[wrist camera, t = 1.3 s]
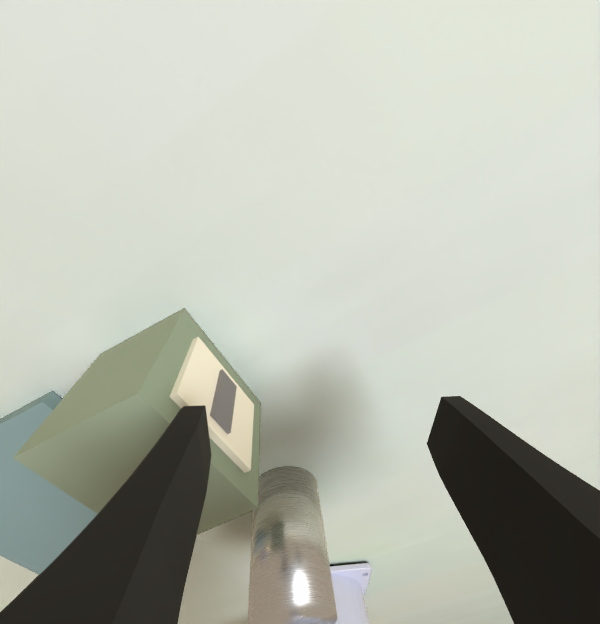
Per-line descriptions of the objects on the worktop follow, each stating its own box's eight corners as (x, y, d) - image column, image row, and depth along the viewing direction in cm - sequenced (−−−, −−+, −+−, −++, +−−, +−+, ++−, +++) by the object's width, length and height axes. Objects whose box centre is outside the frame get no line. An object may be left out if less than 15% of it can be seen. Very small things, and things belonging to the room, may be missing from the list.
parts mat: (57, 567, 23) (50, 580, 22) (-112, 479, 18) (-128, 492, 17) (193, 506, 21) (190, 518, 21) (52, 390, 16) (42, 401, 15)
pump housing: (187, 437, 18) (155, 552, 13) (100, 354, 15) (12, 457, 10) (267, 399, 18) (267, 504, 12) (192, 303, 15) (150, 387, 9)
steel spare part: (315, 505, 23) (333, 638, 16) (254, 509, 22) (249, 647, 16) (319, 464, 21) (341, 597, 14) (252, 468, 20) (245, 607, 14)
